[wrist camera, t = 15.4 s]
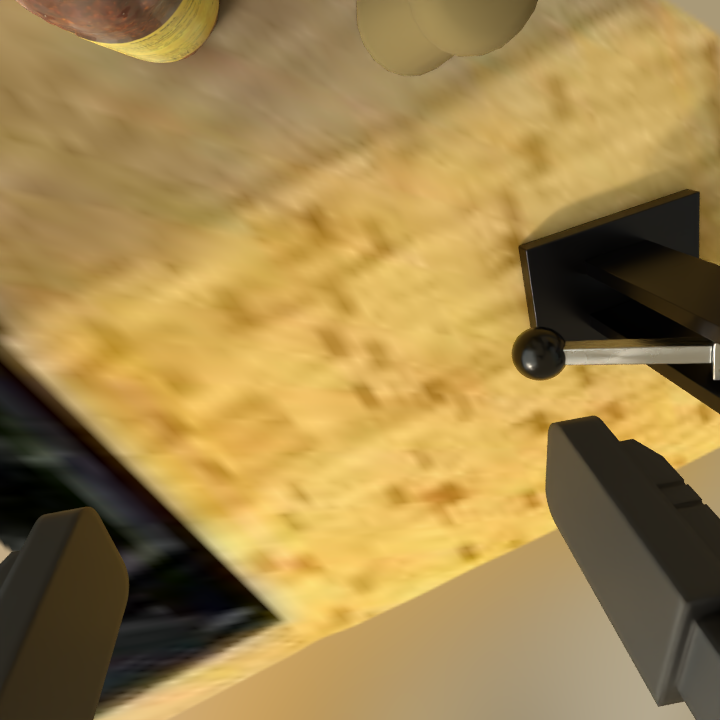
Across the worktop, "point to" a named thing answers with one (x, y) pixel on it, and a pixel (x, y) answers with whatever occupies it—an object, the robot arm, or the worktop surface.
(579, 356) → the lever
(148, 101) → the worktop surface
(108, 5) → the sauce bottle
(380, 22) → the cork
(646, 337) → the bracket
